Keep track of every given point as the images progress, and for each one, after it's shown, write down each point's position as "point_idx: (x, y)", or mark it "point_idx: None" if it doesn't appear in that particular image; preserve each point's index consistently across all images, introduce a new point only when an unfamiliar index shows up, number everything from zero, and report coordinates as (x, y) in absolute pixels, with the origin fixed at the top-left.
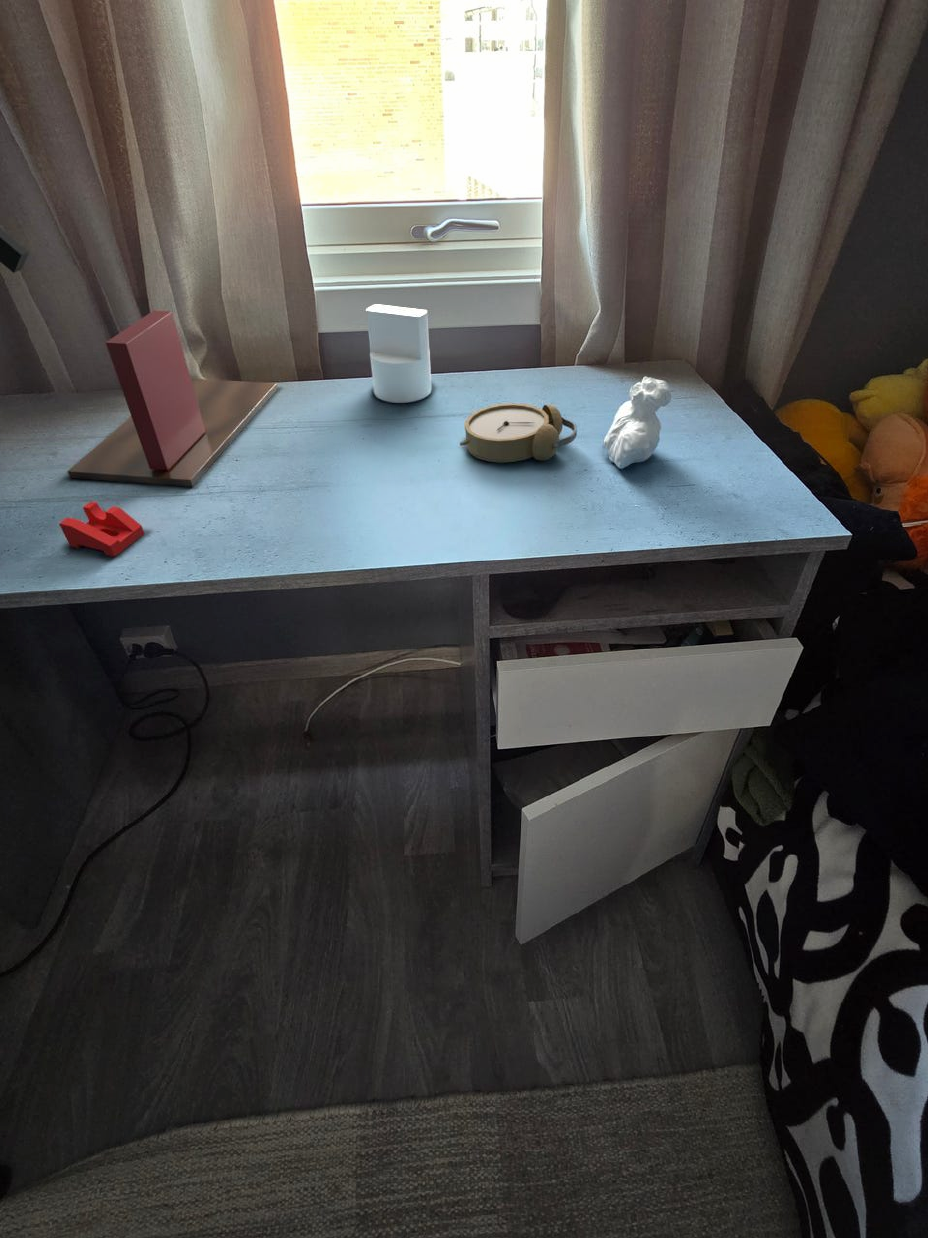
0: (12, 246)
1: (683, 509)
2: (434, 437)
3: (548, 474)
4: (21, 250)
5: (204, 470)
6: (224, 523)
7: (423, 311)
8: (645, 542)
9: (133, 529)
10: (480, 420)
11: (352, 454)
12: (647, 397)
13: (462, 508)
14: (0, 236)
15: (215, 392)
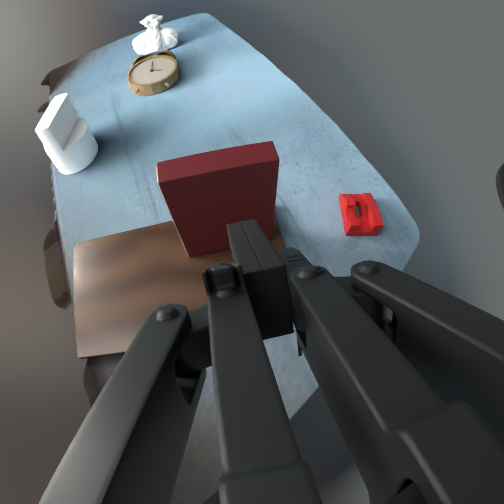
0: (255, 224)
1: (202, 31)
2: (149, 109)
3: (184, 61)
4: (242, 223)
5: None
6: (302, 159)
7: (56, 97)
8: (232, 34)
9: (347, 194)
10: (145, 82)
11: (184, 135)
12: (161, 17)
13: (230, 75)
14: (260, 232)
15: (101, 289)
